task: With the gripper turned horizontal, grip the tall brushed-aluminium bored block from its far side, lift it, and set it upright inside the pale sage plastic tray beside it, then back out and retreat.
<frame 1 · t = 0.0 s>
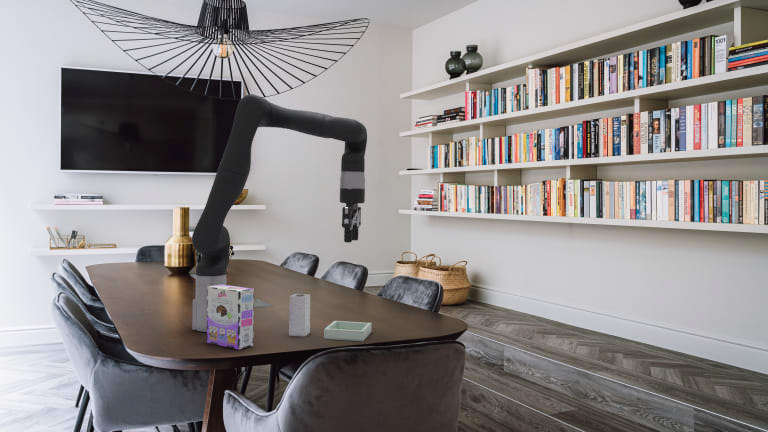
hand: (351, 241, 172), 29 cm above the table, tool pointing down, fingers open, 8 cm apart
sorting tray: (348, 335, 176), on the table
bored block: (299, 334, 177), on the table
candy box: (229, 345, 163), on the table
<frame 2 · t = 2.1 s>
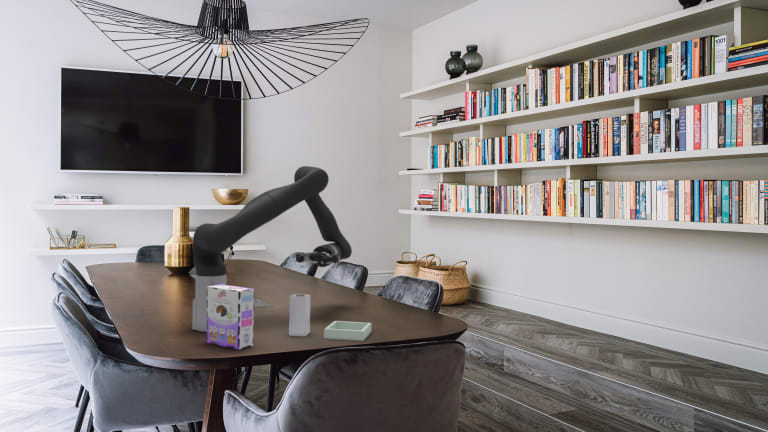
hand: (311, 260, 187), 22 cm above the table, tool horizontal, fingers open, 8 cm apart
nothing on the table moved.
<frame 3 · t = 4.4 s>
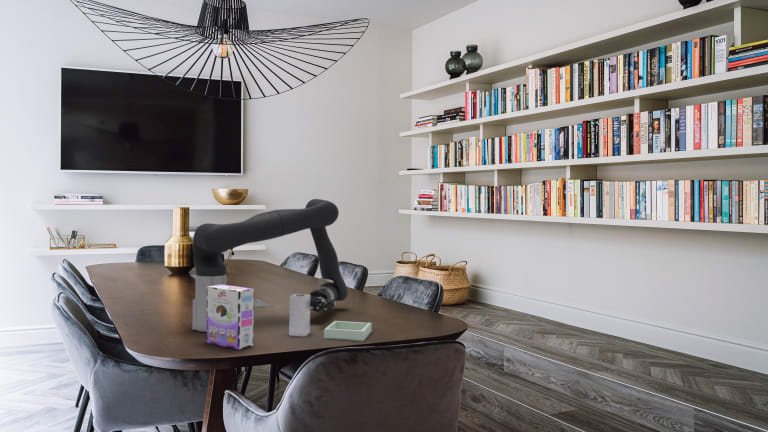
hand: (307, 307, 184), 7 cm above the table, tool horizontal, fingers open, 8 cm apart
nothing on the table moved.
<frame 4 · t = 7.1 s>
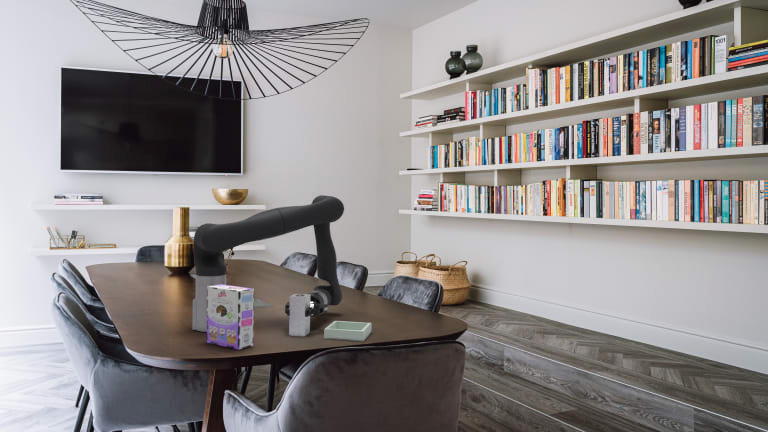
hand: (297, 313, 174), 7 cm above the table, tool horizontal, fingers closed on bored block, 5 cm apart
bored block: (299, 334, 177), on the table, touching gripper
everything else where it was.
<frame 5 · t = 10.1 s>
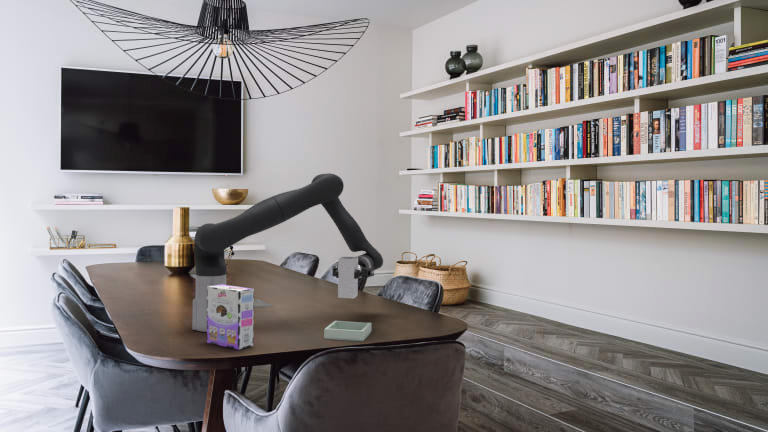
hand: (346, 275, 173), 19 cm above the table, tool horizontal, fingers closed on bored block, 5 cm apart
bored block: (347, 296, 176), point 12 cm above the table, touching gripper
everything else where it was.
when the fingers open (9 cm above the table, at t = 13.0 s): bored block drops 1 cm, resting on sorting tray.
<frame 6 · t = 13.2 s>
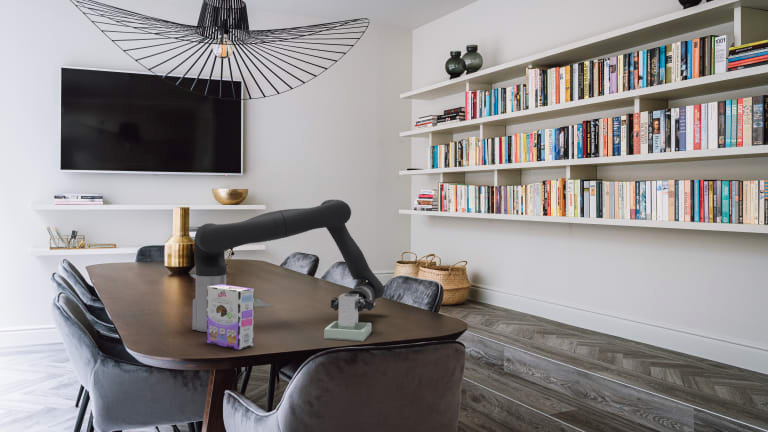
hand: (347, 307, 174), 9 cm above the table, tool horizontal, fingers open, 6 cm apart
bored block: (348, 333, 176), point 1 cm above the table, touching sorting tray
everything else where it was.
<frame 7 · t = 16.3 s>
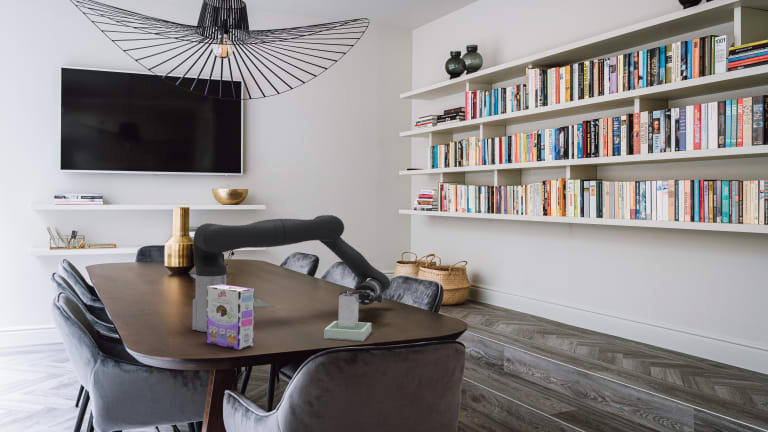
hand: (357, 300, 186), 9 cm above the table, tool horizontal, fingers open, 8 cm apart
nothing on the table moved.
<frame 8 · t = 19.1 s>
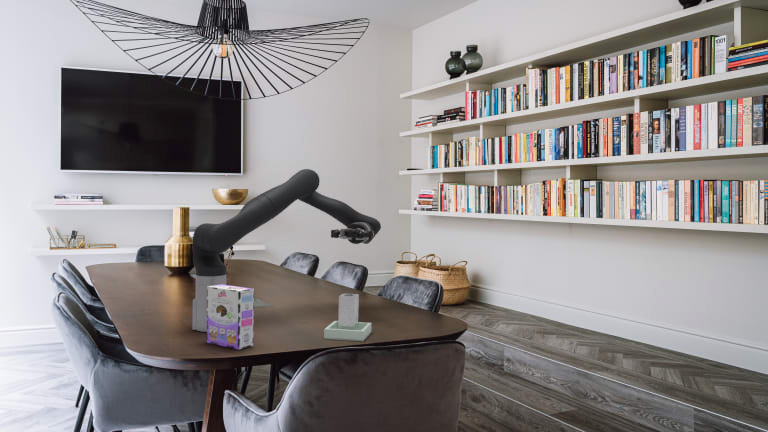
hand: (347, 235, 189), 30 cm above the table, tool horizontal, fingers open, 8 cm apart
nothing on the table moved.
at the end: bored block 0.1 cm off-centre on the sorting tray, point 0.5 cm above the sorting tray's base; bored block tilted 0°; the gripper is holding nothing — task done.
